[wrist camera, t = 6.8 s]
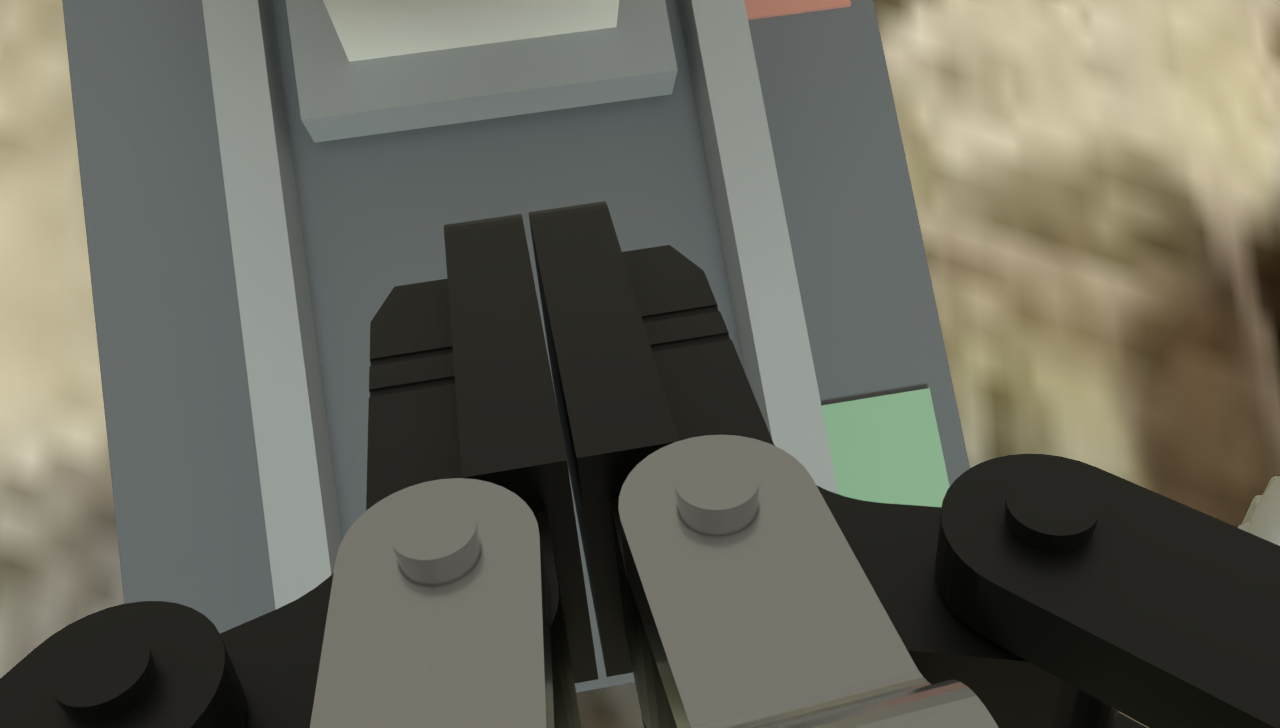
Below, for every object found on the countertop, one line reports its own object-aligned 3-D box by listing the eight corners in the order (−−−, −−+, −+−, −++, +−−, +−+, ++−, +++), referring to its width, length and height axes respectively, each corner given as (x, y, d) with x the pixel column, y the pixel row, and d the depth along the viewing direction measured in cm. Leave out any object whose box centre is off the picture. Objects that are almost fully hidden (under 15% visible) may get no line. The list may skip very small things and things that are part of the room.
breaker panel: (176, 752, 23) (110, 787, 20) (90, -56, 26) (17, -150, 22) (965, 611, 25) (1031, 620, 21) (812, -142, 27) (849, -243, 24)
